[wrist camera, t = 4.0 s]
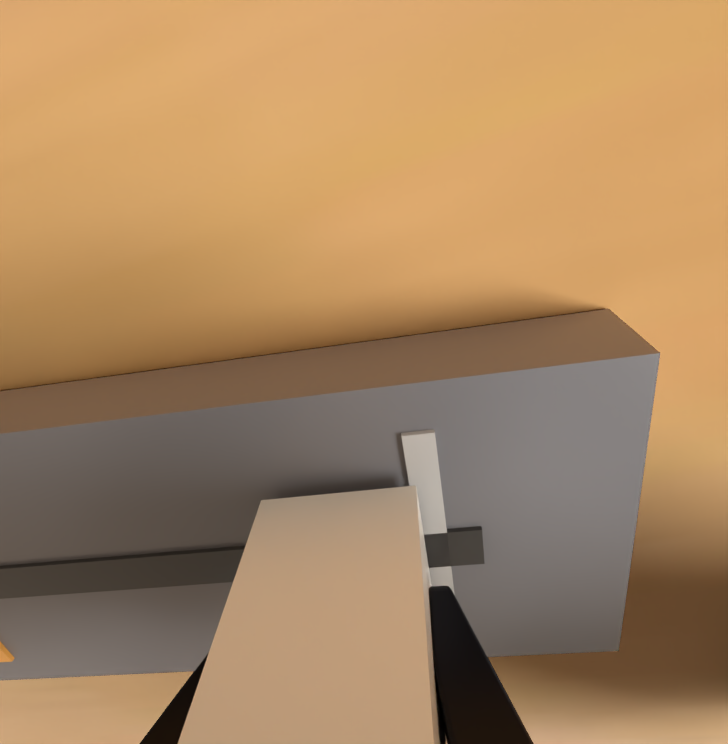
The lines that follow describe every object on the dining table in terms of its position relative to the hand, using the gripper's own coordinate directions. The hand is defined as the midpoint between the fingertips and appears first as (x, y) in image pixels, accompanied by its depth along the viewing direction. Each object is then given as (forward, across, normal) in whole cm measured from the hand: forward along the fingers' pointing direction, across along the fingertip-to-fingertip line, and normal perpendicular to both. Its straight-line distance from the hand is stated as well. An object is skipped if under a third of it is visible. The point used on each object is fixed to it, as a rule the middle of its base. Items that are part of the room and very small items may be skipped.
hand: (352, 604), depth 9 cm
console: (+3, +6, 0) cm, 7 cm away
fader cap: (+1, 0, 0) cm, 1 cm away
